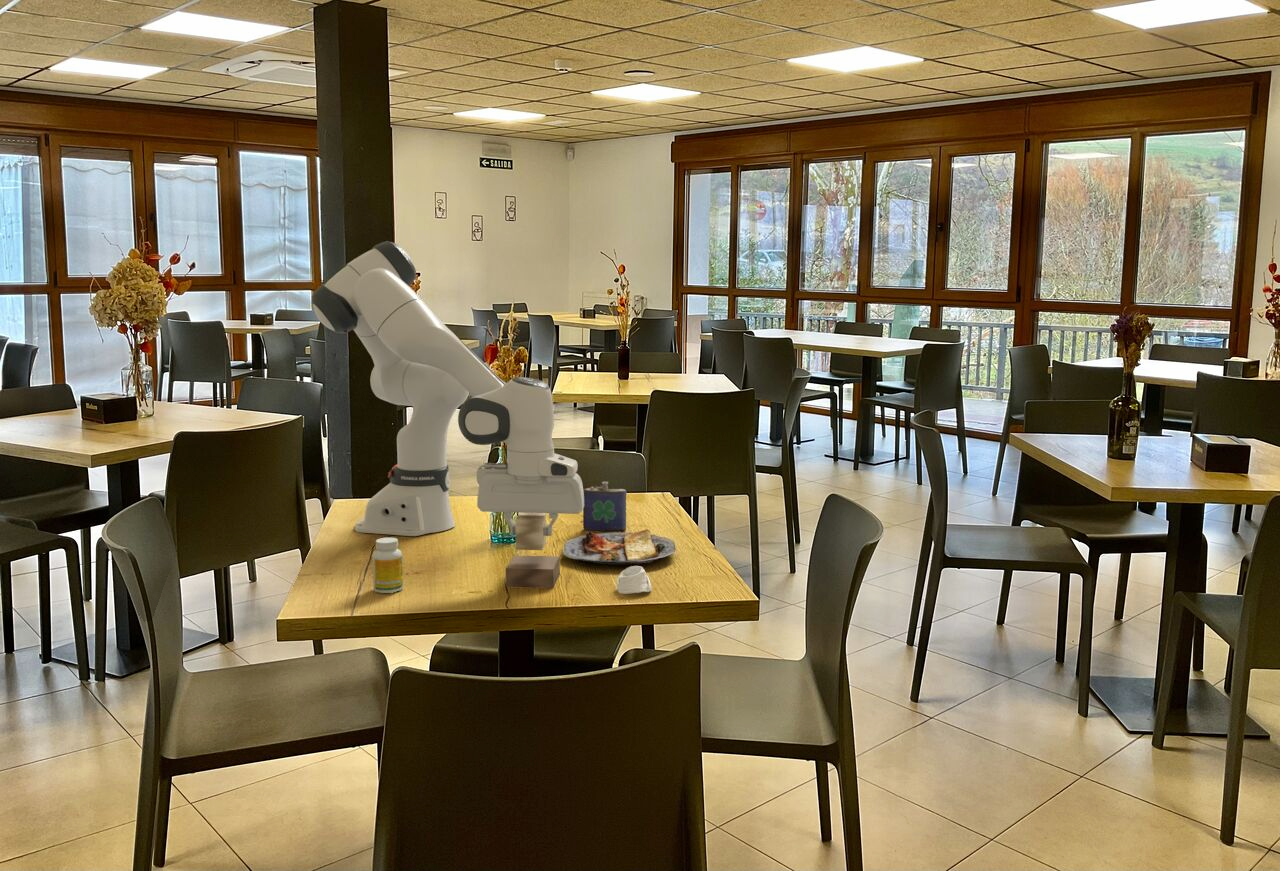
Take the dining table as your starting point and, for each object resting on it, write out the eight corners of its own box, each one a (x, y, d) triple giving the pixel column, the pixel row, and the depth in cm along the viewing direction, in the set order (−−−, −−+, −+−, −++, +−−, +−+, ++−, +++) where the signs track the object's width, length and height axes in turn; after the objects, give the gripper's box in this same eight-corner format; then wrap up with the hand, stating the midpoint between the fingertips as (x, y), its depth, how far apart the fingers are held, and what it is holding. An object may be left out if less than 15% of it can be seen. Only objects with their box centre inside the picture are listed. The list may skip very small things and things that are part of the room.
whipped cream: (655, 601, 196) (658, 576, 195) (619, 600, 195) (622, 574, 194) (647, 585, 204) (649, 561, 203) (612, 584, 203) (615, 559, 202)
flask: (626, 529, 245) (626, 480, 243) (625, 532, 242) (625, 483, 240) (583, 528, 245) (583, 479, 244) (582, 532, 242) (582, 482, 240)
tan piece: (515, 549, 201) (515, 518, 200) (520, 542, 206) (520, 512, 205) (542, 550, 201) (541, 519, 200) (546, 543, 206) (546, 513, 205)
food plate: (567, 540, 236) (567, 525, 235) (672, 540, 236) (672, 525, 236) (560, 572, 211) (560, 555, 211) (677, 573, 212) (677, 555, 211)
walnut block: (506, 588, 201) (505, 568, 200) (514, 575, 210) (514, 555, 209) (553, 589, 200) (553, 569, 200) (559, 576, 209) (559, 556, 208)
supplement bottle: (369, 588, 199) (367, 538, 198) (397, 584, 202) (395, 534, 201) (379, 595, 195) (377, 545, 193) (407, 591, 198) (405, 541, 196)
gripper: (472, 465, 199) (473, 537, 201) (581, 467, 197) (581, 540, 199) (479, 459, 205) (481, 529, 207) (585, 461, 204) (585, 532, 206)
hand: (531, 534), depth 203 cm, fingers closed on tan piece, 5 cm apart
